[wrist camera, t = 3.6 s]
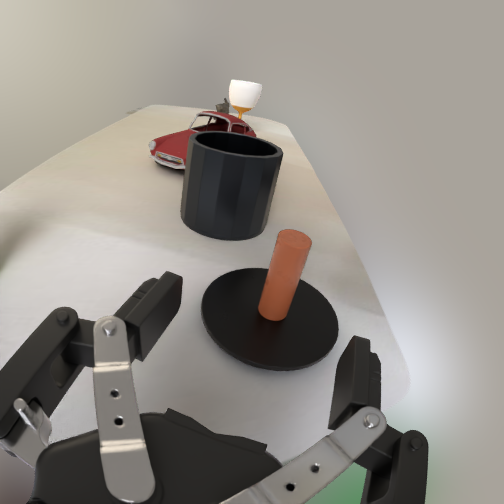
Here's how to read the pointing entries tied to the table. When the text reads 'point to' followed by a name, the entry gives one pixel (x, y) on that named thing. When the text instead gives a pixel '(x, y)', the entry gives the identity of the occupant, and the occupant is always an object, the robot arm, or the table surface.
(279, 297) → the lid
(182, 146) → the toy car
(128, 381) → the robot arm
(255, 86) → the cup
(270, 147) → the canister
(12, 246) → the table surface
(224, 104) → the dog figurine
